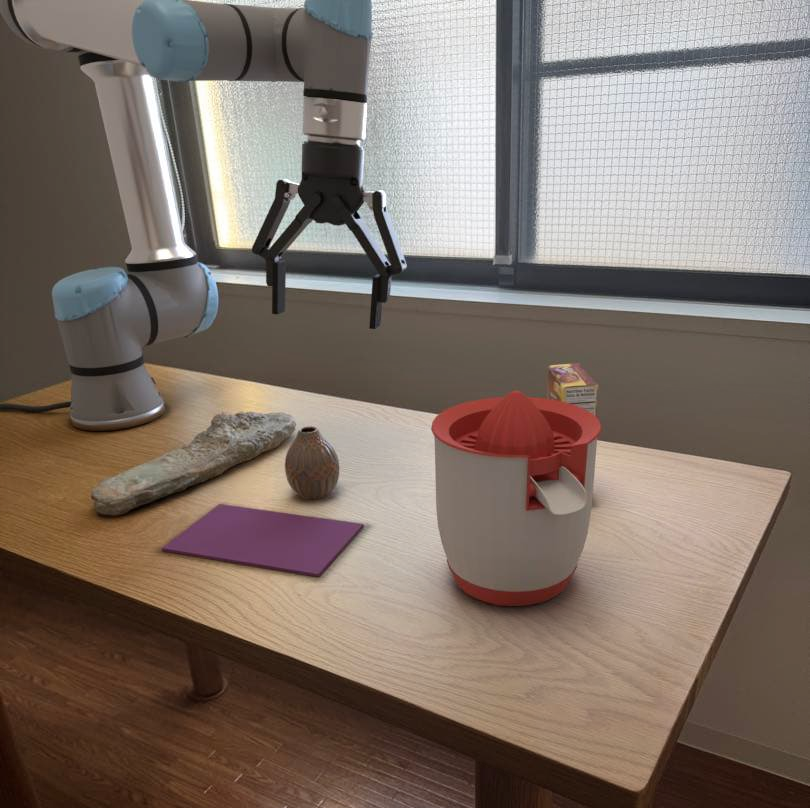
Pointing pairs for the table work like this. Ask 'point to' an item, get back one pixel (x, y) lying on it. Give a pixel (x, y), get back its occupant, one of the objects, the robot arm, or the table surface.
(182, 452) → the long grey stone
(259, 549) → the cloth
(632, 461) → the table surface
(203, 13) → the robot arm
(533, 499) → the citrus juicer
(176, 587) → the table surface
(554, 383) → the candy box
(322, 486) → the vase
